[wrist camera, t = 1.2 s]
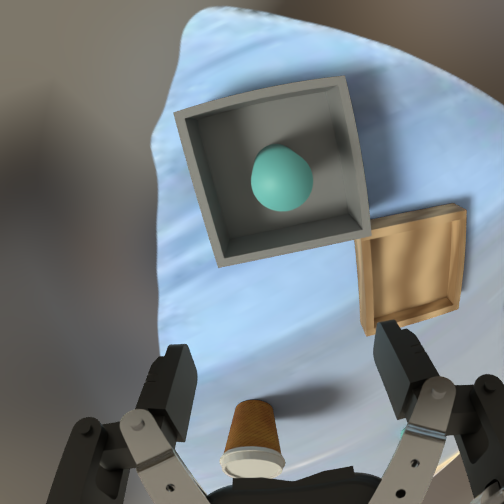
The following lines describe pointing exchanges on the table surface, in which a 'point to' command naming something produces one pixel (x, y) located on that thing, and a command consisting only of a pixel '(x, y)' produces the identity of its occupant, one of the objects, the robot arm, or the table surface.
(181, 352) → the robot arm
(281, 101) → the deep bin
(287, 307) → the table surface
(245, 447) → the disposable coffee cup
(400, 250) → the tray
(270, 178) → the peg
